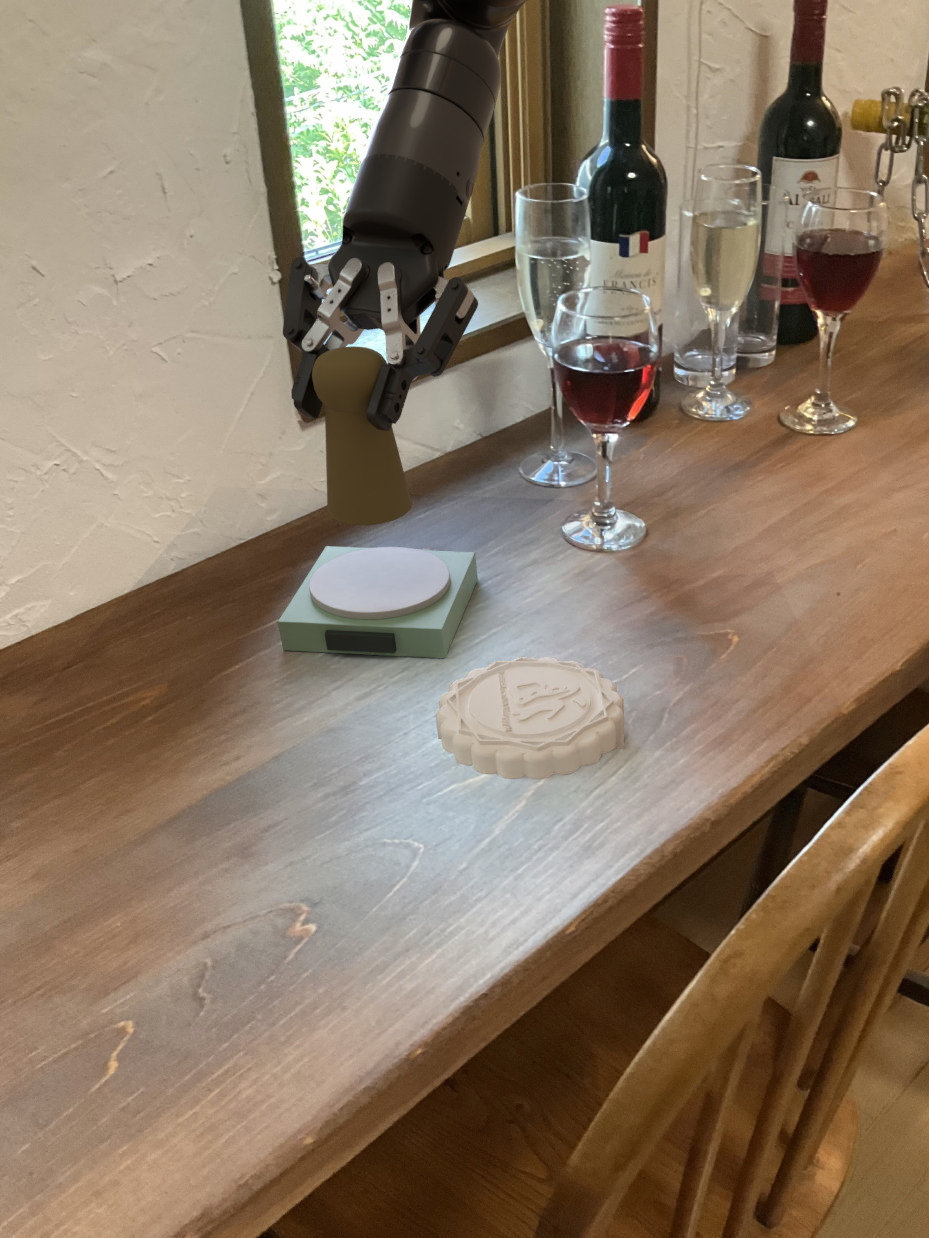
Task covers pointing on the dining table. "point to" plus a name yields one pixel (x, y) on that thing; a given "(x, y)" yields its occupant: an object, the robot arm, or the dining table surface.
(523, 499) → the dining table surface
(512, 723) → the mooncake
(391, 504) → the cork
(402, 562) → the scale
